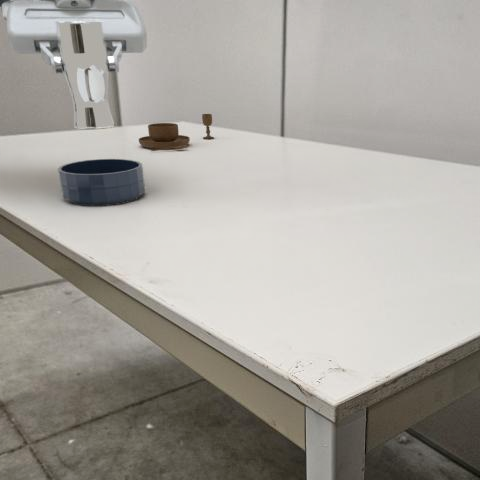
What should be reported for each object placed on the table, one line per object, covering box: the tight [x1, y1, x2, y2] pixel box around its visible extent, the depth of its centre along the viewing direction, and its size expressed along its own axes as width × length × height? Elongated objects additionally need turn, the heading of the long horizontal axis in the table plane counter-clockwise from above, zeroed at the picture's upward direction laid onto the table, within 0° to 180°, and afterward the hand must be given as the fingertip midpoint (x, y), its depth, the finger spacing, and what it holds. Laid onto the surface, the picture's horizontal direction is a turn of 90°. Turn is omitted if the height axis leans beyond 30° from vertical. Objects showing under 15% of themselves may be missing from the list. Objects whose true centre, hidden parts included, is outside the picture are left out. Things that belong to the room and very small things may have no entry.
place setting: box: [138, 113, 215, 152], centre depth 149 cm, size 18×20×6 cm
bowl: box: [57, 158, 146, 206], centre depth 102 cm, size 13×13×5 cm
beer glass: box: [55, 22, 115, 130], centre depth 95 cm, size 7×7×15 cm
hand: (86, 70), depth 94 cm, fingers closed on beer glass, 7 cm apart
